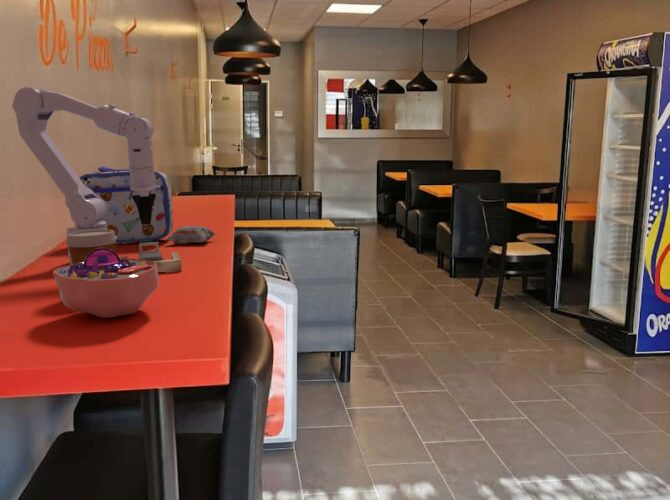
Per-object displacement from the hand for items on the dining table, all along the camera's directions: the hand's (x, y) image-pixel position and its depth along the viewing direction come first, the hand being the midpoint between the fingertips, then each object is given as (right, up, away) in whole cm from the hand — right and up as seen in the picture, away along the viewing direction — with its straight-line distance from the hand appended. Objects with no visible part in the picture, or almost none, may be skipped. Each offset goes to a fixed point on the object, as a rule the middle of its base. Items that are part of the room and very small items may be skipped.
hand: (146, 223), depth 173 cm
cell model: (+7, -18, -51) cm, 54 cm away
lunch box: (-14, -4, +32) cm, 35 cm away
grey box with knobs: (+4, -11, -10) cm, 15 cm away
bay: (+4, -11, -10) cm, 15 cm away
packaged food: (+6, -5, +26) cm, 27 cm away
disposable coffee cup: (-1, -15, -34) cm, 37 cm away
